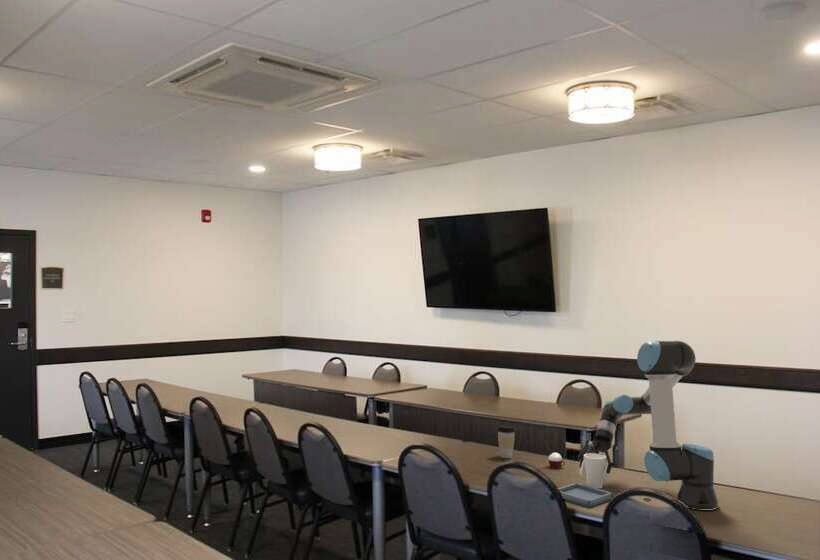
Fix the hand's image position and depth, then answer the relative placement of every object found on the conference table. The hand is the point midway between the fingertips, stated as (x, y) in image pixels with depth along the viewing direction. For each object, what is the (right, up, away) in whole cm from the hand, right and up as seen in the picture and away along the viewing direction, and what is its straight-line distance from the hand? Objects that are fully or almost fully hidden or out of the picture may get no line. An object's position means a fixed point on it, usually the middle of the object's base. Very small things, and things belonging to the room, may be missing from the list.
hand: (592, 477), depth 291 cm
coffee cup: (-29, -5, +51) cm, 59 cm away
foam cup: (+2, -5, +3) cm, 6 cm away
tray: (-7, -5, -13) cm, 16 cm away
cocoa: (-9, -5, +33) cm, 34 cm away
